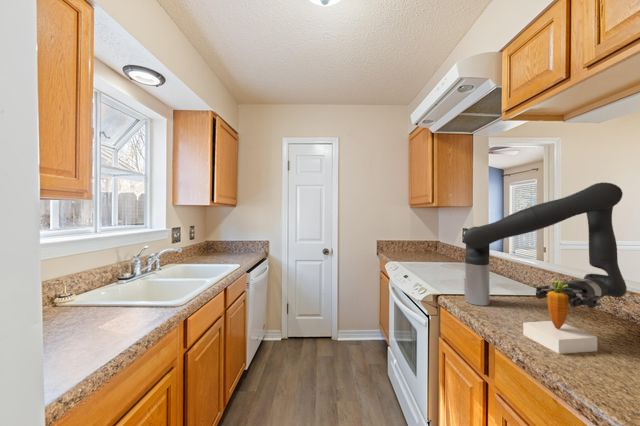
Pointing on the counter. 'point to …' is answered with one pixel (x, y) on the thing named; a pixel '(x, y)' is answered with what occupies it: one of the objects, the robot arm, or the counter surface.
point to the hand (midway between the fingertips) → (554, 299)
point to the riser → (560, 337)
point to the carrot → (558, 304)
